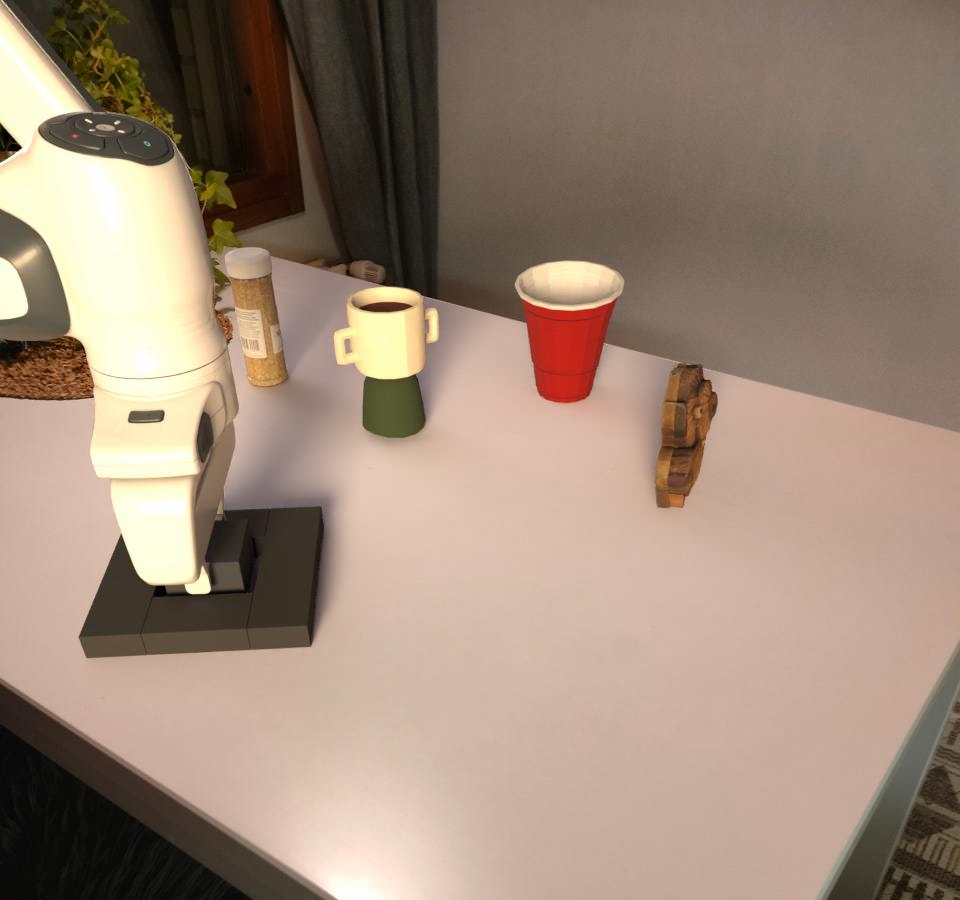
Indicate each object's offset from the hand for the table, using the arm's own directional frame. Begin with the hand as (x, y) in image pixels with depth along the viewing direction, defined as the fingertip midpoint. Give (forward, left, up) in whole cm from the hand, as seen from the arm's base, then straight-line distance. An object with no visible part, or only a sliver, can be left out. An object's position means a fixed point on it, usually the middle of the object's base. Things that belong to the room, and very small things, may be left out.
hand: (208, 560), depth 70 cm
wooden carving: (+40, +13, -3) cm, 42 cm away
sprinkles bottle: (0, +38, -3) cm, 38 cm away
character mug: (+14, +25, -3) cm, 29 cm away
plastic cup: (+32, +32, -3) cm, 45 cm away
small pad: (0, 0, -2) cm, 2 cm away
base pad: (0, 0, -2) cm, 2 cm away
